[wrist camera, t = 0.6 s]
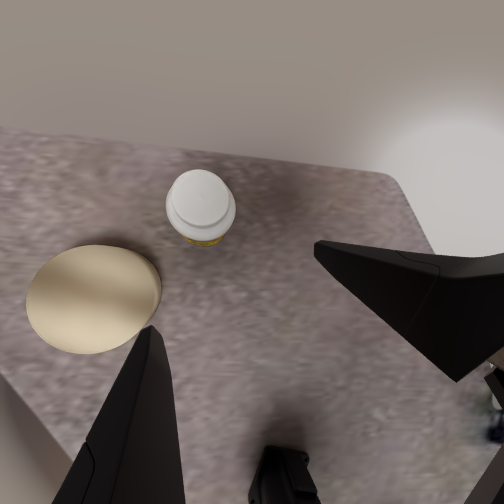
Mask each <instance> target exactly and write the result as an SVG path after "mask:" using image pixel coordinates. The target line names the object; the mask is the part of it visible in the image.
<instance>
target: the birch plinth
mask: <svg viewBox="0 0 504 504" xmlns="http://www.w3.org/2000/svg"><path fill="white" fill-rule="evenodd" d="M161 292H162V288H161V281H160V277H159V275H158V273H157V271H156V269H155V267H154V266H153V265H152V264H151V263H150V261H149V260H147V259H146V258H145V257H144V256H142V255H140V254H139V253H137V252H134V251H132V250H129V249H125V248H120V247H112V246H105V245H87V246H80V247H76V248H72V249H70V250H67V251H65V252H62V253H61V254H59V255H57V256H55V257H54V258H52V259H51V260H49V261H48V262H47V263H46V264H45V265H44V266H43V267H42V268H41V269H40V270H39V271H38V272H37V274H36V275H35V277H34V278H33V280H32V282H31V285H30V287H29V290H28V293H27V300H26V307H27V314H28V318H29V320H30V323H31V325H32V327H33V328H34V330H35V331H36V333H37V334H38V335H39V336H40V337H41V338H42V339H43V340H44V341H45V342H47V343H49V344H50V345H52V346H53V347H56V348H58V349H60V350H63V351H66V352H71V353H76V354H93V353H99V352H104V351H107V350H110V349H113V348H115V347H118V346H119V345H121V344H123V343H125V342H126V341H128V340H129V339H131V338H132V337H133V336H134V335H135V334H136V333H137V332H138V331H139V330H140V329H141V328H142V327H143V326H144V325H145V324H146V323H147V322H148V321H149V320H150V319H151V318H152V316H153V315H154V313H155V312H156V310H157V308H158V306H159V303H160V299H161Z"/></svg>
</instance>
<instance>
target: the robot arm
mask: <svg viewBox="0 0 504 504" xmlns="http://www.w3.org/2000/svg"><path fill="white" fill-rule="evenodd" d="M314 257H315V258H316V259H317V260H318V261H319V262H320V264H321V265H322V266H323V267H324V268H325V269H326V270H327V271H328V272H329V273H330V274H331V275H332V276H333V277H334V278H335V279H336V280H337V281H339V282H340V283H341V284H342V285H343V286H344V287H346V288H347V289H348V290H349V291H350V292H351V293H352V294H354V295H355V296H356V297H357V298H358V299H359V300H361V301H362V302H363V303H364V304H365V305H366V306H367V307H369V308H370V309H371V310H372V311H373V312H374V313H376V314H377V315H378V316H379V317H380V318H381V319H383V320H384V321H385V322H386V323H387V324H388V325H389V326H391V327H392V328H393V329H394V330H395V331H396V332H398V333H399V334H400V335H401V336H402V337H403V338H404V339H405V340H407V341H408V342H409V343H410V344H411V345H412V346H414V347H415V348H416V349H417V350H418V351H419V352H420V353H422V354H423V355H424V356H425V357H426V358H427V359H429V360H430V361H431V362H432V363H433V364H434V365H435V366H437V367H438V368H439V369H440V370H441V371H442V372H444V373H445V374H446V375H447V376H448V377H449V378H451V379H452V380H453V381H455V382H456V383H457V382H458V381H460V380H461V379H462V378H464V377H465V376H466V375H468V374H469V373H470V372H472V371H473V370H474V369H476V368H477V367H478V366H479V365H481V364H482V363H483V362H485V361H486V360H487V361H488V362H490V363H491V364H493V365H494V366H493V367H492V368H491V369H490V371H489V372H488V373H487V374H486V376H485V377H484V379H485V381H486V382H487V384H488V386H489V387H490V389H491V391H492V392H493V394H494V396H495V397H496V399H497V401H498V402H499V404H500V406H501V407H502V409H503V411H504V253H501V254H496V255H491V256H485V257H474V258H473V257H471V258H470V257H457V256H445V255H434V254H424V253H414V252H406V251H398V250H391V249H383V248H376V247H369V246H361V245H354V244H346V243H339V242H331V241H324V240H320V241H318V242H316V243H315V244H314ZM268 451H269V452H268ZM308 463H309V456H308V454H307V453H305V452H300V451H295V450H290V449H284V448H279V447H274V446H266V447H265V449H264V452H263V455H262V458H261V461H260V464H259V467H258V470H257V473H256V476H255V479H254V482H253V485H252V488H251V491H250V494H249V497H248V501H249V504H321V502H320V500H319V498H318V496H317V492H318V491H317V488H316V486H315V484H314V482H313V480H312V478H311V476H310V473H309V471H308V469H307V466H308ZM52 504H186V503H185V494H184V485H183V476H182V467H181V458H180V449H179V440H178V431H177V422H176V413H175V404H174V395H173V386H172V377H171V371H170V366H169V362H168V358H167V354H166V350H165V345H164V341H163V338H162V336H161V334H160V333H159V332H158V331H157V330H156V329H155V327H154V326H152V325H150V326H148V327H146V328H144V329H142V330H141V331H140V333H139V335H138V337H137V339H136V341H135V343H134V345H133V347H132V349H131V351H130V353H129V355H128V357H127V358H126V360H125V362H124V364H123V366H122V368H121V370H120V372H119V374H118V376H117V378H116V380H115V382H114V384H113V386H112V388H111V390H110V392H109V394H108V396H107V398H106V400H105V402H104V404H103V406H102V408H101V410H100V412H99V414H98V416H97V418H96V420H95V422H94V423H93V425H92V427H91V429H90V431H89V433H88V435H87V437H86V442H84V443H83V445H82V447H81V449H80V451H79V453H78V455H77V457H76V459H75V461H74V463H73V465H72V467H71V468H70V470H69V472H68V474H67V476H66V478H65V480H64V482H63V483H62V485H61V488H60V489H59V491H58V493H57V495H56V496H55V498H54V500H53V502H52ZM464 504H504V443H503V445H502V446H501V448H500V449H499V451H498V452H497V454H496V455H495V457H494V458H493V460H492V461H491V463H490V464H489V466H488V467H487V469H486V471H485V472H484V474H483V475H482V477H481V478H480V480H479V481H478V483H477V484H476V486H475V487H474V489H473V490H472V492H471V493H470V495H469V496H468V498H467V499H466V501H465V503H464Z"/></svg>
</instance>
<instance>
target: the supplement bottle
mask: <svg viewBox="0 0 504 504" xmlns="http://www.w3.org/2000/svg"><path fill="white" fill-rule="evenodd" d="M166 212H167V215H168V218H169V220H170V222H171V224H172V225H173V227H174V228H175V229H176V230H177V231H178V232H179V233H180V234H181V235H182V236H183V237H184V238H185V239H187V240H188V241H189V242H190V243H192V244H194V245H197V246H201V247H207V246H211V245H214V244H216V243H218V242H219V241H220V240H221V239H222V238H223V237H224V235H225V234H226V232H227V231H228V230H229V228H230V227H231V225H232V223H233V221H234V218H235V213H236V206H235V200H234V197H233V195H232V193H231V191H230V190H229V188H228V187H227V186H226V185H225V183H224V182H223V181H222V180H221V179H220V178H219V177H218V176H217V175H215V174H214V173H212V172H209V171H206V170H198V169H197V170H190V171H187V172H185V173H183V174H182V175H180V176H179V177H178V178H177V179H176V180H175V182H174V184H173V186H172V187H171V189H170V190H169V192H168V195H167V199H166Z"/></svg>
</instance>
